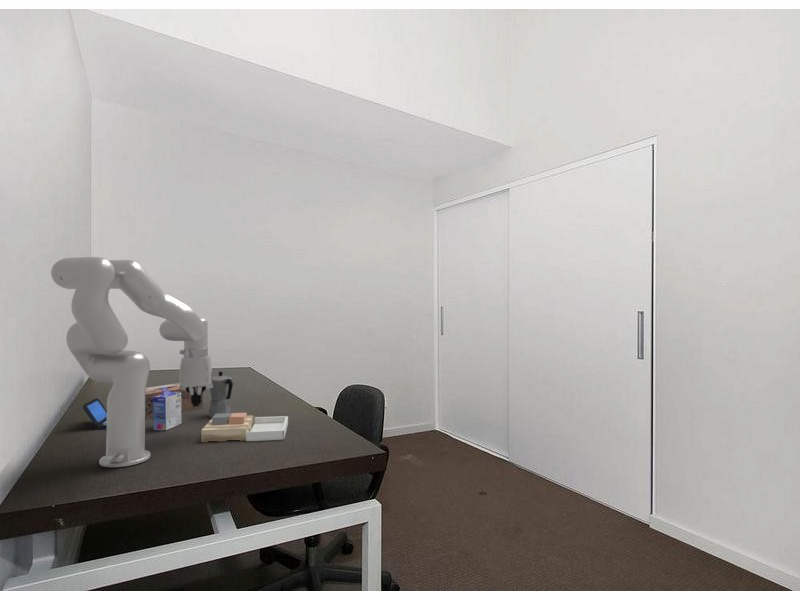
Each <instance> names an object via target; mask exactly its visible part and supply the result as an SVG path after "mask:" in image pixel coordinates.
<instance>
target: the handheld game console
mask: <svg viewBox="0 0 800 600" xmlns="http://www.w3.org/2000/svg"><path fill="white" fill-rule="evenodd" d="M82 409H83V410H84V412H85V413H86V415H87V416H88V418H89V419H90V420H91V422H92V423H93V425H94V430H95V429H97V430H107V408H105V406H104V405H103V403H102V402H101V399H99V398H95V399H92V400H90V401H88V402H86V403H83V405H82Z"/></svg>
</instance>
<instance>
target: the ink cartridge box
mask: <svg viewBox="0 0 800 600" xmlns="http://www.w3.org/2000/svg"><path fill="white" fill-rule="evenodd" d="M165 389H166V390H167V391H165V392H164V391H163V390H165ZM161 391H162V393H163V394H161V395H158V396H155V397H153V418H152V419H153V420H152V422H153V425H152V427H153V428H152V429H153V431H164V430H165V431H168V430H170V429H172V428H174V427H177V426H179V425H181V424H182V412H181V392H169V390H168V388H167V387H165V388H161Z"/></svg>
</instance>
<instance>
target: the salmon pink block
mask: <svg viewBox="0 0 800 600" xmlns="http://www.w3.org/2000/svg"><path fill="white" fill-rule="evenodd" d="M231 413H232V414H231V415H230V416H229V424H244V423H245V421H246V420H247V416H248V415H247V414H248V412H231Z"/></svg>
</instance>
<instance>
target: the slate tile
mask: <svg viewBox="0 0 800 600" xmlns="http://www.w3.org/2000/svg"><path fill="white" fill-rule="evenodd" d="M231 413H232V412H231ZM231 413H222V414H215V415H214V416H213V417H212V418H211V419H212V425H227V424H228V423H229V416H230V415H231Z"/></svg>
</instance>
